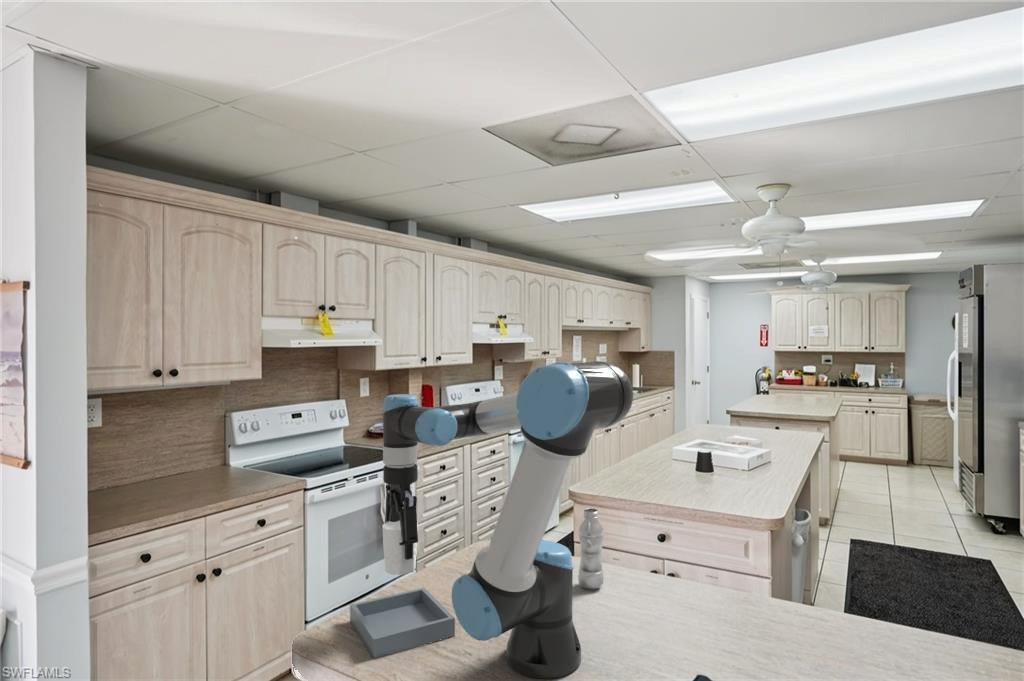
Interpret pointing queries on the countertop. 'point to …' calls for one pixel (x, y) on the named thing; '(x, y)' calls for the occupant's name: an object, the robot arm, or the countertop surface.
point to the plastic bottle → (591, 551)
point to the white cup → (394, 547)
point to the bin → (401, 622)
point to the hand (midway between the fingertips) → (400, 566)
